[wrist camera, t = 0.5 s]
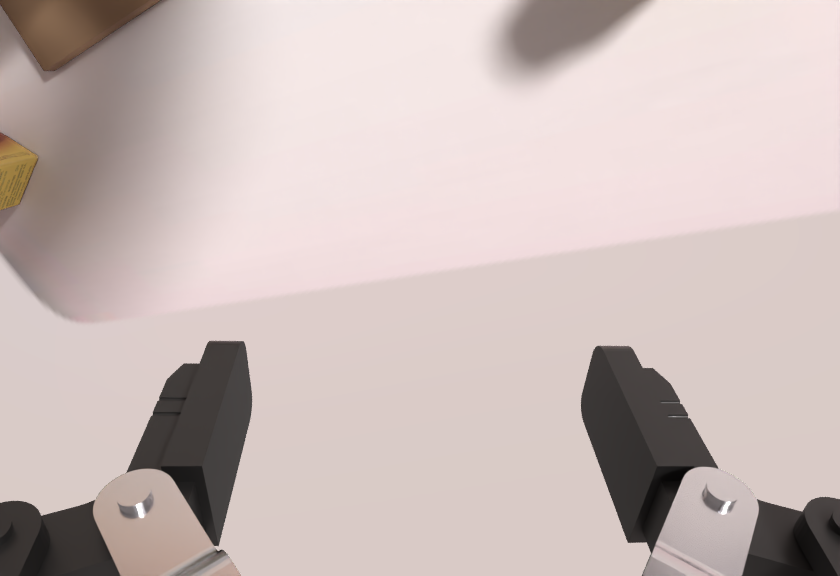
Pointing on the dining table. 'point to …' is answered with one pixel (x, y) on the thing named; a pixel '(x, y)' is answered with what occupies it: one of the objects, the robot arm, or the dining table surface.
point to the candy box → (14, 171)
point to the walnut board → (68, 25)
